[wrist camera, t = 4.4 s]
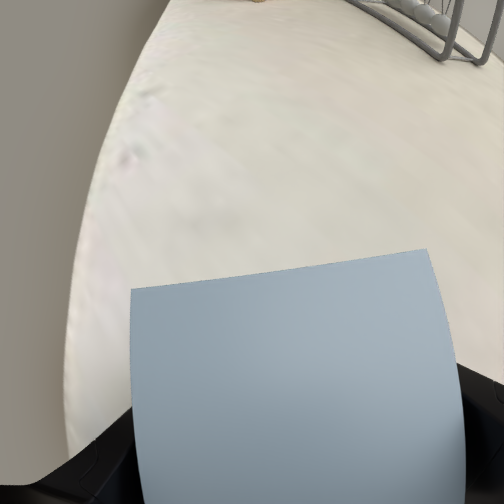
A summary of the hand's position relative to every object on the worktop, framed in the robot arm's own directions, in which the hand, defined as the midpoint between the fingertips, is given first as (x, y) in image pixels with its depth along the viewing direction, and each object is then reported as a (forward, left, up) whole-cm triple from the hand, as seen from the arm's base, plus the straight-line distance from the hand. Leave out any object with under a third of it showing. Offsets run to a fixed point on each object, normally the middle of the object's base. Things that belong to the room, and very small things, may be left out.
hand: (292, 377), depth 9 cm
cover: (-1, 0, -7) cm, 7 cm away
